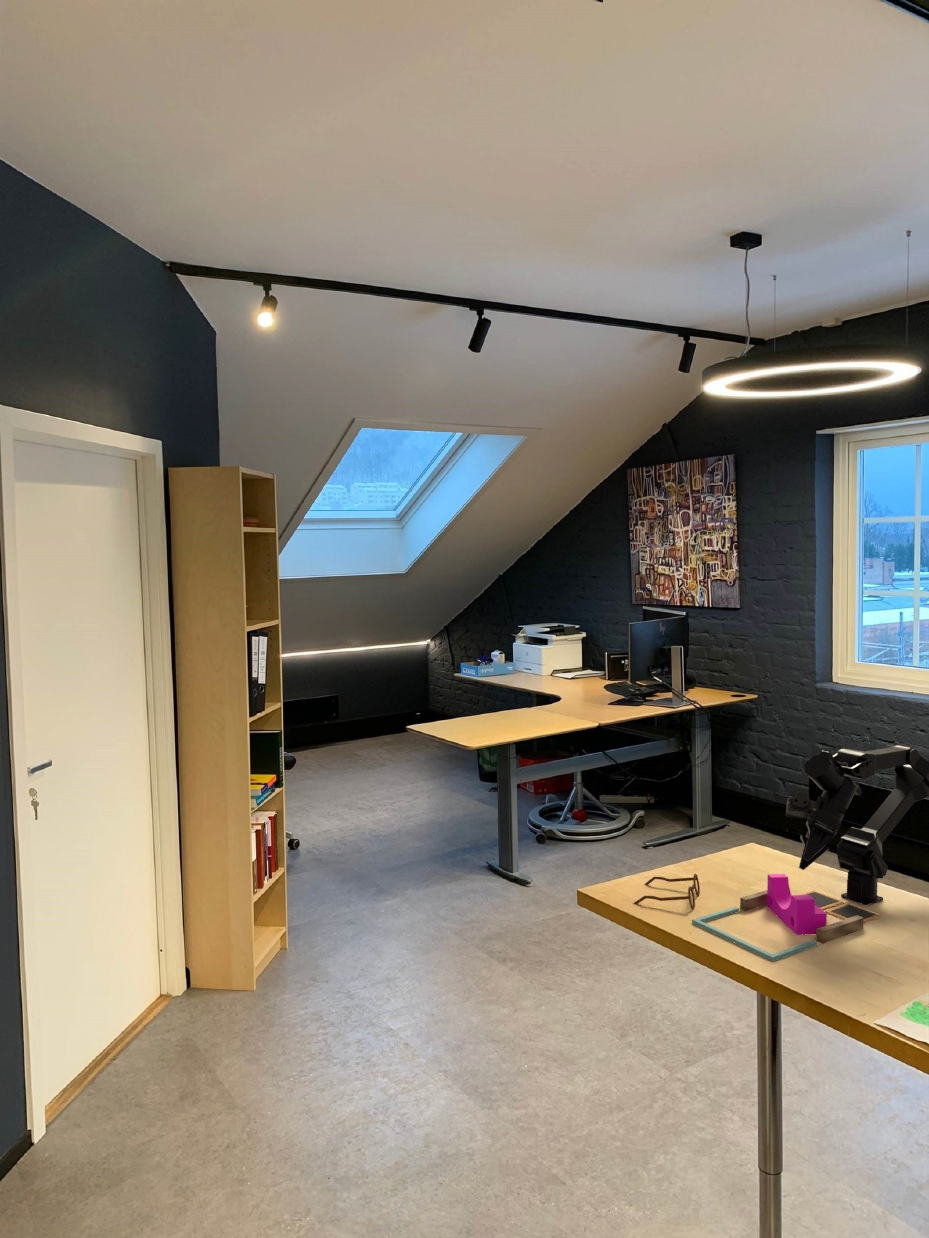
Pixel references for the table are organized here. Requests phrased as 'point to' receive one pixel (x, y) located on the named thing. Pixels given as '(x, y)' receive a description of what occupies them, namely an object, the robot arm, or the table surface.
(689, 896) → the glasses
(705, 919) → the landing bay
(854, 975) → the table surface
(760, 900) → the channel
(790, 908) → the toy block
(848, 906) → the pit traps
